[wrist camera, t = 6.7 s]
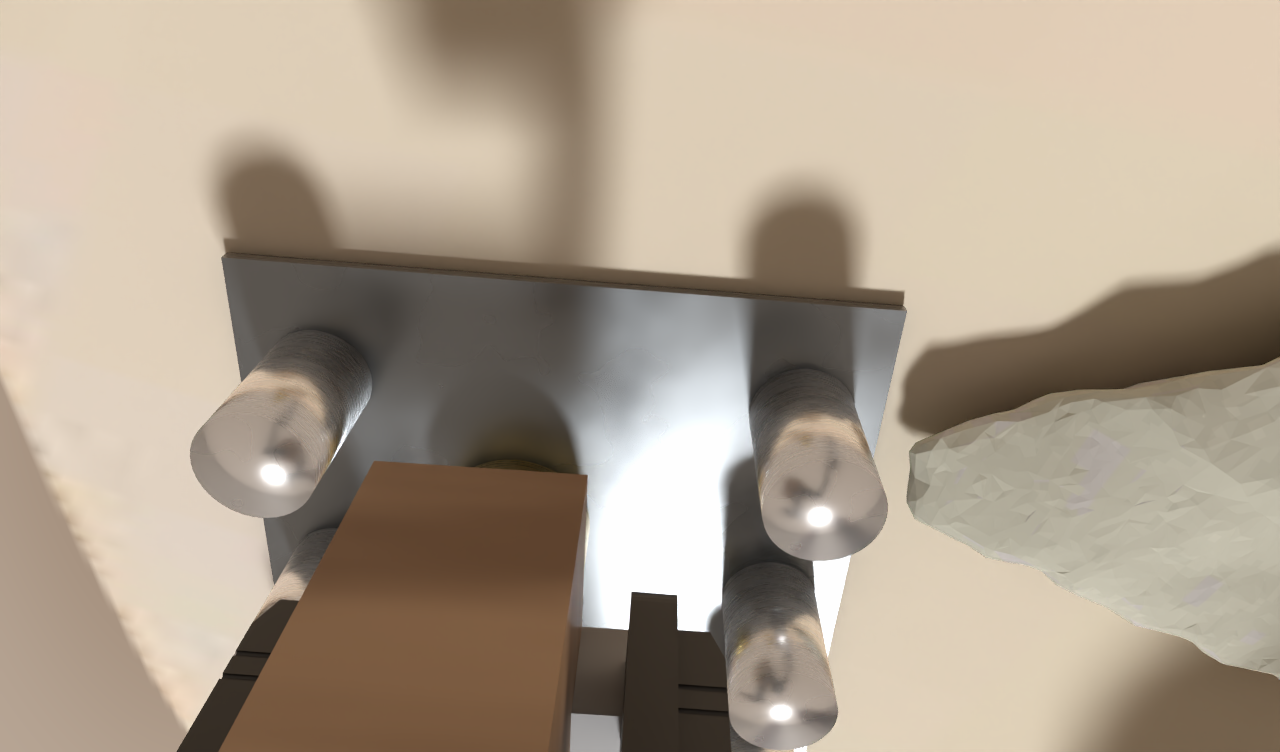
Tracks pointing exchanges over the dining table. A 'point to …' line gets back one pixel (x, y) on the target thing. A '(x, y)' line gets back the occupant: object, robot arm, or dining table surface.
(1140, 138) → the dining table surface
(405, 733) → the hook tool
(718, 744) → the robot arm
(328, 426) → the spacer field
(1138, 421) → the stone tool
